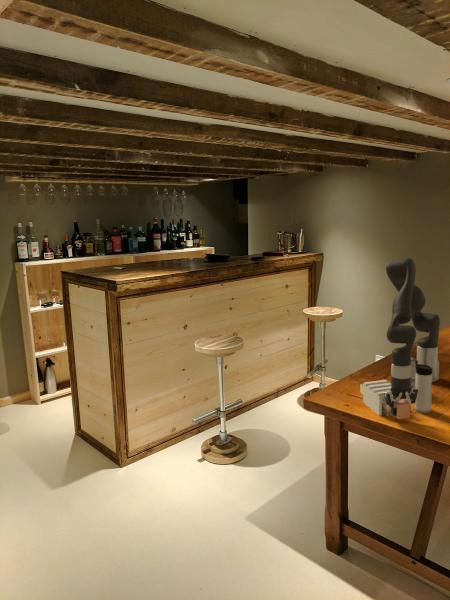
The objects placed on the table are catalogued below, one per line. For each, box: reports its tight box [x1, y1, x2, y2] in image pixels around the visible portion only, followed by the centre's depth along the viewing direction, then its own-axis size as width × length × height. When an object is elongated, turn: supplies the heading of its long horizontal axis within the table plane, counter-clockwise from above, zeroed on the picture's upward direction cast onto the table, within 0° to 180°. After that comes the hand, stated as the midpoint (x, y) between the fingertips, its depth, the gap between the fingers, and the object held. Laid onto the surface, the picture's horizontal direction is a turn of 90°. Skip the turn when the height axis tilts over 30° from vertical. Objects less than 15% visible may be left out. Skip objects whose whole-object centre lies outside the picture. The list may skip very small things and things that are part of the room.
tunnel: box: [362, 379, 396, 416], centre depth 194 cm, size 10×14×10 cm
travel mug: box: [414, 364, 433, 414], centre depth 187 cm, size 6×7×20 cm
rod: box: [359, 383, 394, 417], centre depth 198 cm, size 4×26×4 cm, turn 9°
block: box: [392, 399, 411, 420], centre depth 180 cm, size 5×5×6 cm
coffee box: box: [409, 356, 418, 396], centre depth 208 cm, size 9×6×16 cm
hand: (400, 414), depth 181 cm, fingers closed on block, 5 cm apart
